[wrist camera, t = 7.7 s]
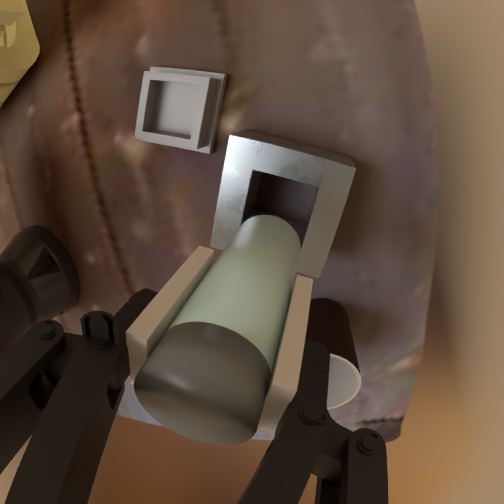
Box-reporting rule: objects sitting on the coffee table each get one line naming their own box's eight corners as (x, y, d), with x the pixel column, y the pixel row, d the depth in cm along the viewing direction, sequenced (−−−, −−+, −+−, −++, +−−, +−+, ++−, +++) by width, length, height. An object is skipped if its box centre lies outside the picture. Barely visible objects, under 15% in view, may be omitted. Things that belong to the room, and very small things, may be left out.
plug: (241, 206, 18) (129, 345, 8) (308, 225, 18) (273, 396, 7) (229, 265, 20) (138, 417, 10) (290, 283, 20) (243, 456, 9)
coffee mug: (328, 276, 34) (326, 336, 25) (370, 325, 35) (377, 389, 26) (252, 325, 39) (230, 385, 30) (296, 366, 40) (285, 426, 32)
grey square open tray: (144, 139, 31) (129, 143, 29) (155, 67, 28) (140, 65, 25) (212, 152, 31) (201, 157, 28) (227, 74, 27) (217, 72, 24)
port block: (228, 223, 34) (209, 246, 28) (247, 129, 29) (229, 134, 24) (321, 249, 33) (319, 278, 27) (350, 156, 28) (356, 168, 23)
